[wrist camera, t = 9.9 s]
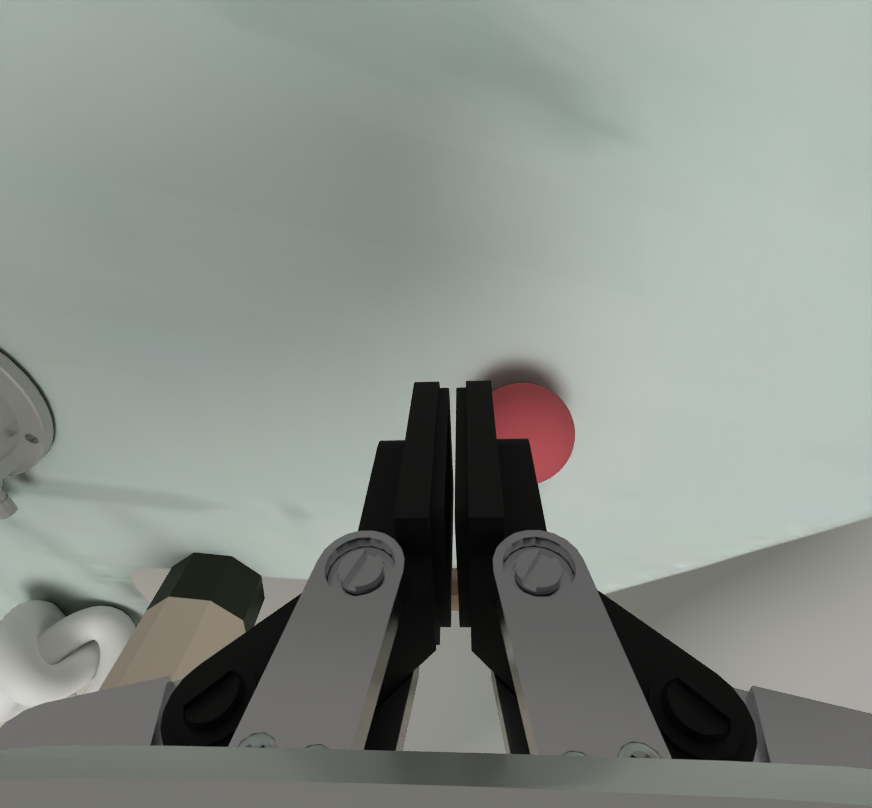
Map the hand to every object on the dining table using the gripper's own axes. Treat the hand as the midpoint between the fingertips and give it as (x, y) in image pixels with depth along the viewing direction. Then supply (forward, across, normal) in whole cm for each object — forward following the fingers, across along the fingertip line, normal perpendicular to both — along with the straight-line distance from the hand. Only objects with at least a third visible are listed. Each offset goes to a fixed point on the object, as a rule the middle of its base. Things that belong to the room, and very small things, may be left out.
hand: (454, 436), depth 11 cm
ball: (+14, -4, +11) cm, 18 cm away
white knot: (+17, +37, +34) cm, 53 cm away
